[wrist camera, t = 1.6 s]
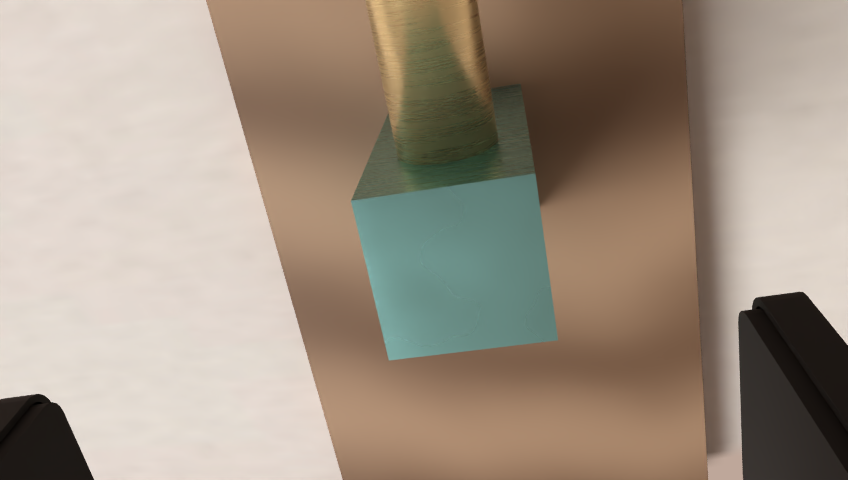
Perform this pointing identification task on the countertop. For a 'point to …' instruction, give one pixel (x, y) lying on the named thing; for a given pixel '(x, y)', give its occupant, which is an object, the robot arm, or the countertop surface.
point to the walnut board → (563, 233)
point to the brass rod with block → (450, 192)
